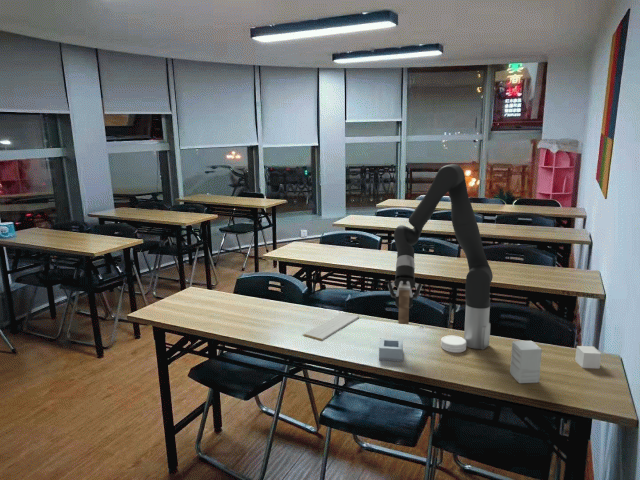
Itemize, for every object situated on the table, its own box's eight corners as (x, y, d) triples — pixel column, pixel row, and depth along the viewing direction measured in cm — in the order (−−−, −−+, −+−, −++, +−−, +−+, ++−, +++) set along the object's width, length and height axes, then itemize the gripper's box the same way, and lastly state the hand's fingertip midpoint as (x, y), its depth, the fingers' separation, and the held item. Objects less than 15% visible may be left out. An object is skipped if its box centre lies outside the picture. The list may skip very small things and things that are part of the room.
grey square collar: (402, 351, 185) (402, 339, 184) (402, 361, 176) (402, 349, 175) (380, 349, 186) (380, 338, 185) (378, 359, 178) (379, 347, 177)
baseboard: (299, 335, 203) (322, 342, 196) (299, 329, 202) (322, 335, 195) (338, 314, 228) (359, 319, 221) (338, 308, 227) (359, 313, 220)
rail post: (408, 320, 185) (410, 284, 182) (408, 324, 181) (409, 288, 178) (398, 319, 186) (399, 284, 183) (398, 323, 182) (398, 287, 178)
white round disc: (442, 352, 184) (442, 344, 183) (439, 342, 193) (439, 334, 192) (468, 353, 182) (468, 345, 181) (464, 343, 192) (464, 335, 191)
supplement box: (529, 372, 166) (532, 340, 164) (539, 383, 159) (542, 349, 157) (509, 373, 166) (511, 340, 164) (518, 383, 159) (521, 349, 156)
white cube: (575, 360, 175) (576, 345, 174) (591, 361, 174) (593, 346, 173) (582, 368, 169) (584, 353, 168) (599, 368, 169) (601, 353, 167)
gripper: (387, 263, 187) (385, 302, 178) (423, 265, 184) (422, 304, 175) (387, 272, 193) (385, 310, 184) (422, 274, 191) (422, 312, 182)
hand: (403, 306), depth 180 cm, fingers closed on rail post, 4 cm apart
